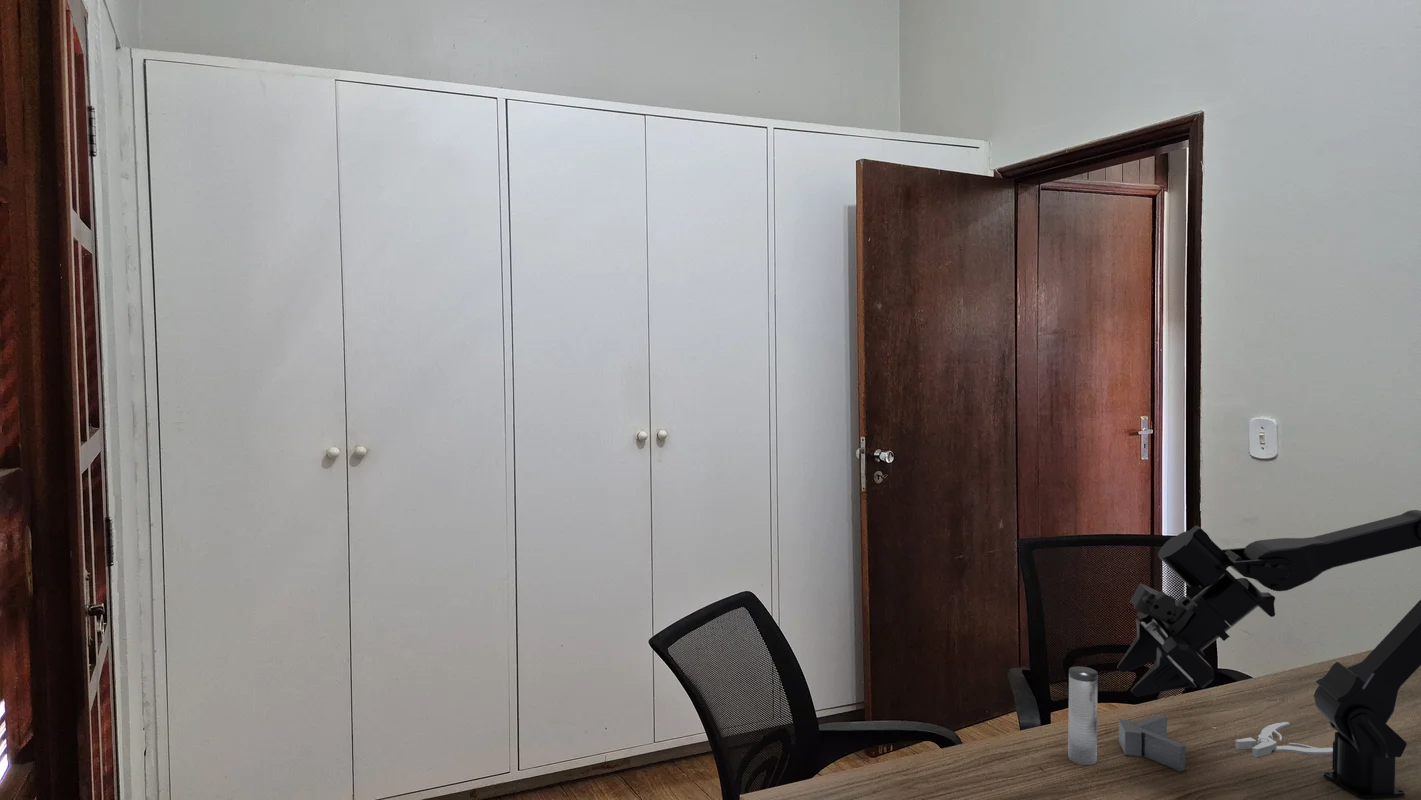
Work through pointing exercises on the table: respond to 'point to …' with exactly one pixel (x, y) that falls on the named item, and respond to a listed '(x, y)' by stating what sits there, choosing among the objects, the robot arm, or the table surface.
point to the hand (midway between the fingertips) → (1126, 681)
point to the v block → (1151, 741)
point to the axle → (1082, 715)
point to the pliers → (1269, 745)
